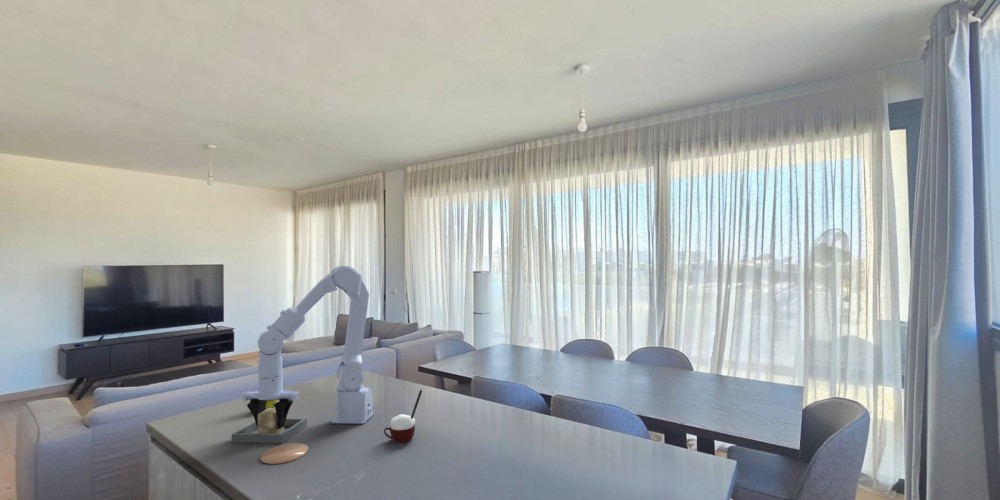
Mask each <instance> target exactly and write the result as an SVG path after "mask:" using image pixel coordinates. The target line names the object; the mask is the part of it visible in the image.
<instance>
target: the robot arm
mask: <svg viewBox="0 0 1000 500" xmlns="http://www.w3.org/2000/svg"><path fill="white" fill-rule="evenodd" d="M338 289H340V290H342V291H343V292H344V293H345V294H346V296H348V297H349V298H350V304H349V312H348V319H347V320H348V321H347V326H346V327H347V328H346V332H345V333H346V334H345V341H344V342H345V344H344V349H343V354H342V356H341V361H340V363H339V366H338V367H337V369H336V373H335V374H336V378H337V380H338V381H340V382H339V383H338V385H337V387H336V417H335V418H334V419H333V420H331V421H330V422H331V424H356V425H357V424H364V423H366V422H367V420H369V419H370V418H371V417H372V416H373V415H374V414H375V413H374V411H373V406H374V405H373V403H374V402H373V399H374V397H373V389H372V388H370V387H366V386H364V384H363V383H364V380H365V375H364V372H363V359H362V352H363V344H364V339H365V338H364V336H365V330H366V321H367V315H368V314H367V313H368V305H369V298H370V294H369V291H368V289H367V286H366V284H365V282H364V281H363V278H362V275H361V274H360V273H359V272H358V271H357V270H356V269H355V268H354V267H352V266H349V265H345V266H343V265H338V266H336V267H335V268H334V269H332V270H331V272H329V273H327V274H326V275H324V277H323V278H322V279H320V280H319V281H318V282H317V283H316V285H315V286H314V287H313V288H312V289H311V290H310V291H309V292H308V293H307V294H306V296H304V298H303V299H302V300H301V301H300V302H298V304H297V305H296V306H295V307H293V306H292V307H287V309H286V310H284V309H283V310H281V311H280V313H279V314H280V316H279V317H277V319H276V320H275V321H274V322H272V323H271V324H269V325H267V326H266V331H263V332H262V333H261V334H260V335H259V337H258V341H257V346H258V349H259V353H258V361H257V363H258V364H257V366H258V369H257V370H258V371H257V375H258V377H257V378H258V388H259V391H258V390H252V391H249V390H247V391H245V392H243V393H242V401H243V402H247V401H249V402H247V404H246V406H247V408H248V410H249V411H250V413H251V415H252V416H253V419H254V421H255V422H256V425H257V429H256V430H258V414H259V413H261V412H263V411H265V409H266V403H267V400H278V402H277V403H275V404H274V406H275V409H276V414H277V428H278V429H281V428H283V427H284V428H285V427H286V426H285V421H286V418H288V414H289V411H290V409H291V407H292V405H293V403H294V402H296V401H298V400H299V399H300V395H299V393H300V392H299V391H295V390H294V391H293V390H286V389H283V385H284V384H283V376H284V374H283V357H282V350H283V349H282V348H283V347H284V341H287V340H289V339H290V337H291V336H292V335H293V334H295V332H296V331H298V329H299V328H300V327H301V326H302V325H303V324H304V323H305V321H306V318H305V316H306V314H307V313H308V312H309V311H310V310H311V309H312V308H313V307H314V306H315V305H316V304H317V303H318V302H319V301H320V300H321V299H323V297H325V296H326V294H329V293H332V292H335V291H338Z"/></svg>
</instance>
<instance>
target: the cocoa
mask: <svg viewBox="0 0 1000 500" xmlns="http://www.w3.org/2000/svg"><path fill="white" fill-rule="evenodd" d="M422 393H423V390H422V389H419V392H418V395H417V398H416V400H415V404H414V407H413V410H412V413H411V415H408V414H398V415H396V416H394V417H392V418H390V425H389V427H385V428H384V429H383V433H384V435H385V436H386V438H388V439H390V440H393V441H394V442H395V443H399V444H401V443H403V444H404V443H407V442H409V441H411V439H413V437H414V435H415V430H416V419H415V417H414V416H415V414H416V410H417V408H418V404H419V401H420V398H421V396H422ZM387 430H389V432H390V435H389V434H388V433H387V432H386V431H387Z"/></svg>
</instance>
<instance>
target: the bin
mask: <svg viewBox="0 0 1000 500" xmlns="http://www.w3.org/2000/svg"><path fill="white" fill-rule="evenodd" d="M305 426H306V427H307V426H308V418H306V417H301V418H300V417H286V421H285V426H284V427H289V428H288V429H286V430H284V431H282V432H281V433H279V434H265V433H258V432H257V433H256V432H255V433H254V431H256V430H258V429H257V425H256V422H255V420H253V421H252V422H251V423H249V424H247V425H245V426H244V427H242V428H240V429H239V430H237V431H235V432H233V433H231V443H247V442H248V443H251V442H253V443H256V444H257V442H258V443H259V444H260V443H261V444H262V443H263V444H285V442H286V441H288V440H289V439H291V438H292V437H294V436H295V435H296V434H298V433H299V432H300V431H301V430H303V429H305V428H306V427H305ZM252 431H253V432H252Z"/></svg>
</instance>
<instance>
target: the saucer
mask: <svg viewBox="0 0 1000 500" xmlns="http://www.w3.org/2000/svg"><path fill="white" fill-rule="evenodd" d="M308 450H309V447H308V446H307V445H306V444H304V443H299V442H296V443H295V442H294V443H293V442H292V443H291V442H290V443H283V444H280V445H277V446H273V447H271V448H269V449H266V450H265V451H264V452H262V453H261V455H260V461H261V462H262V463H263V462H264V463H263V464H266V463H267V464H266V465H279V464H280V465H281V464H285V463H290V462H293V461H296V460H298V459H300V458H302V457H304V456H306V455H307V453H308V452H309V451H308Z"/></svg>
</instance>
